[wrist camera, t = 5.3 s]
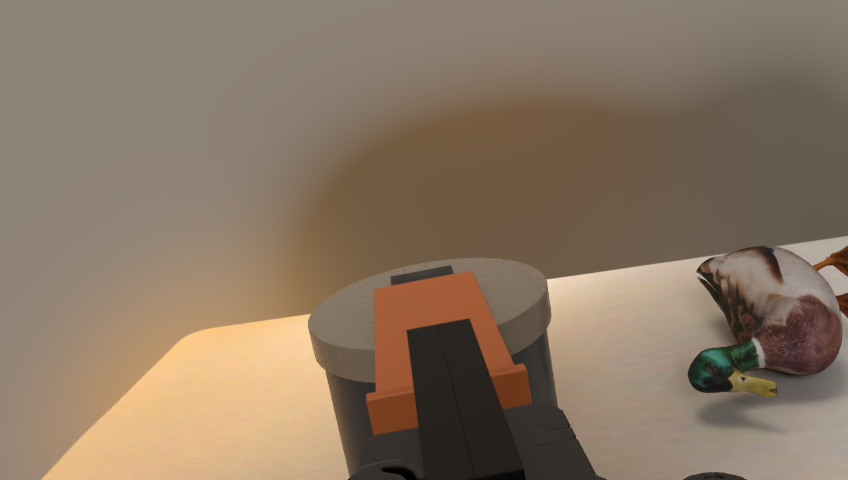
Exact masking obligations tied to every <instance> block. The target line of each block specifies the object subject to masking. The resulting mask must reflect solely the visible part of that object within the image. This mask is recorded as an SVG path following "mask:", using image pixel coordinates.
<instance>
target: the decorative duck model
mask: <svg viewBox="0 0 848 480" xmlns="http://www.w3.org/2000/svg"><path fill="white" fill-rule="evenodd" d="M826 258H827V257H826ZM827 265H834V266H835V267H836V268H837V269H839V270H840V271H841V272H842V273H844V274H845V275H846V276H848V246H846V247H845V248H844V249H842V250H841V251H839V252H836V253H833V254H831V255H830V257H829V258H827V259H826V260H824V261H823V262H820V263H818V264H816V265H814V266H812V265H811V264H809V263H808V262H807V261H805V260H804V259H802V258H801V257H799V256H798V255H796V254H794V253H793V252H791V251H788V250H785V249H783V248H779V247H774V246H757V247H750V248H745V249H741V250H738V251H735V252H732V253H729V254H726V255H723V256H719V257H713V258H710V259H708V260H706V261H705V262H703V263H702V264H701V265H700V267H699V268H698V269H697V273H699V274H701V275H702V276H703V277H704V278H705V279H706V280H707V281H708V282H709V283H710V284H711V285H710V284H709V283H708V282H706V281H705V280H703V279H701V278H699V277H698V279H699V280H700V282H701V283H702V284H703V285H704V286H705V288H706V289H707V290H708V291H709V293H710V294H711V296H712V297H713V299H714V300H715V302H716V303H717V304H718V306H719V307H720V309H721V310H722V311H723V313H724V314H725V316H726V319H727V321H728V324H729V326H730V328H731V331H732V333H733V335H734V336H735V338H736V340H737V342H738V343H739V344H738V345H733V346H728V347H719V348H710V349H706V350H704V351H702V352H701V353H699V354H698V355H697V357H696V358H695V359H694V361H693V362H692V364H691V365H690V368H689V371H688V378H689V381H690V383H691V385H692V386H693V387H694V388H695V389H696V390H698V391H700V392H704V393H714V392H741V391H745V392H749V393H753V394H758V395H762V396H766V397H771V398H773V397H775V396H776V395H777V388H776V384H775V383H774V382H772V381H769V380H766V379H762V378H757V377H752V376H748V375H745V374H743V373H742V372H745V371H749V370H753V369H759V368H766V367H767V368H770V369H773V370H777V371H782V372H786V373H791V374H798V375H809V374H815V373H819V372H821V371H823V370H824V369H826V368H827V367H828V366H829V365H830V364H831V363H832V362H833V361H834V360H835V358H836V356H837V354H838V352H839V349H840V346H841V342H842V333H843V331H842V318H841V313H840V311H841V312H842V313H843V314H844V315H845V316H846V317H847V318H848V293H845V294H843V295H839V296H835V294H834V292H833V290H832V288H831V287H830V285H829V283H828V282H827V281H826V280H825V279H824V278H823V276H822V275H821V274H820V273H819V272H818V270H820V269H821V268H823V267H825V266H827ZM711 286H712V287H713V288H714V289H715V290H716V291H717V292H716V291H715V290H714V289H713V288H712V287H711Z"/></svg>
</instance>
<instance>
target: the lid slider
mask: <svg viewBox="0 0 848 480" xmlns="http://www.w3.org/2000/svg"><path fill="white" fill-rule="evenodd" d="M374 316H375V378H376V392H373V393H368V394H367V395H366V402H367V407H368V412H369V416H370V421H371V426H372V430H373V435H378V434H383V433H389V432H394V431H399V430H404V429H410V428H415V427H419V426H418V418H417V410H416V403H415V395H414V387H413V379H412V371H411V363H410V355H409V347H408V339H407V331H406V330H409V329H414V328H419V327H425V326H430V325H435V324H441V323H446V322H451V321H457V320H462V319H467V318H470V321H471V324H472V326H473V329H474V332H475V335H476V338H477V340H478V343H479V346H480V349H481V351H482V354H483V357H484V360H485V362H486V365H487V368H488V371H489V373H490V376H491V379H492V382H493V385H494V387H495V390H496V393H497V396H498V398H499V401H500V404H501V407H502V409H505V408H510V407H515V406H520V405H526V404H531V403H532V400H531V393H530V387H529V380H528V374H527V369H526V367H525V365H524V364H518V365H514V363H513V361H512V359H511V356H510V354H509V352H508V350H507V347H506V345H505V343H504V341H503V339H502V336H501V334H500V332H499V330H498V327H497V325H496V323H495V321H494V318H493V316H492V314H491V312H490V309H489V307H488V305H487V303H486V300H485V298H484V296H483V294H482V292H481V289H480V287H479V285H478V283H477V280H476V278H475V276H474V274H473V271H466V272H461V273H456V274H451V275H445V276H440V277H435V278H430V279H424V280H419V281H414V282H409V283H403V284H398V285H393V286H388V287H382V288H377V289H374Z"/></svg>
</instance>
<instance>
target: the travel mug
mask: <svg viewBox="0 0 848 480" xmlns="http://www.w3.org/2000/svg"><path fill="white" fill-rule="evenodd" d="M466 271H473V274H474V276H475V278H476V280H477V283H478V285H479V287H480V289H481V292H482V294H483V296H484V298H485V300H486V303H487V305H488V307H489V309H490V312H491V314H492V316H493V318H494V321H495V323H496V325H497V327H498V330H499V332H500V334H501V336H502V339H503V341H504V343H505V345H506V347H507V350H508V352H509V354H510V356H511V359H512V361H513V363H514V365H518V364H524V365H525V367H526V369H527V374H528V380H529V387H530V393H531V400H532V403H536V402H541V401H547V402H549V403H551V404H552V405H554V406H556V407H557V408H558V404H557V397H556V390H555V384H554V377H553V370H552V363H551V356H550V349H549V342H548V335H547V327H548V325H549V323H550V320H551V307H550V300H549V293H548V286H547V281H546V279H545V277H544V275H543V274H542V273H541V272H540V271H539V270H537V269H535V268H534V267H531V266H529V265H527V264H523V263H520V262H516V261H511V260H503V259H494V258H493V259H492V258H462V259H450V260H441V261H433V262H427V263H421V264H416V265H411V266H407V267H403V268H398V269H395V270H391V271H387V272H384V273H381V274H378V275H375V276H372V277H369V278H366V279H364V280H361V281H359V282H356V283H354V284H352V285H349V286H347V287H345V288H343V289H341V290H340V291H338V292H336V293H334V294H333V295H331V296H329V297H328V298H326V299H325V300H324V301H323V302H321V303H320V304H319V305H318V306H317V307H316V308H315V309H314V311H313V312H312V313H311V315H310V318H309V320H308V328H309V333H310V337H311V341H312V346H313V350H314V354H315V357H316V360H317V362H318V363H319V364H320V366H321V367H322V368H323V369H325V371H326V375H327V380H328V384H329V389H330V393H331V397H332V402H333V406H334V410H335V415H336V419H337V424H338V428H339V432H340V437H341V441H342V445H343V450H344V454H345V459H346V463H347V467H348V472H349V476H350V477H351V476H352V475H353V474H355V473H357V472H358V471H360V451H361V450H362V448H363V447H364V445H365V444H366V442H367V441H368V440H369V438H370V437H371V436H373V430H372V426H371V421H370V416H369V412H368V407H367V402H366V395H367V394H368V393H373V392H376V378H375V316H374V289H377V288H382V287H388V286H393V285H398V284H403V283H409V282H414V281H419V280H424V279H430V278H435V277H440V276H445V275H451V274H456V273H461V272H466Z"/></svg>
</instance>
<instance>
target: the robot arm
mask: <svg viewBox="0 0 848 480" xmlns="http://www.w3.org/2000/svg"><path fill="white" fill-rule="evenodd" d="M406 331H407V339H408V347H409V355H410V363H411V371H412V379H413V387H414V395H415V403H416V410H417V418H418V426H419V427H415V428H410V429H404V430H399V431H394V432H389V433H383V434H378V435H373V436H371V437H370V438H369V440H368V441H367V442H366V444H365V445H364V447H363V448H362V450H361V451H360V471H358V472H357V473H355V474H353V475H352V476H351V477H350V478H349V479H348V480H606V479H604V478H601V477H599V476H597V475H596V474H595V472H594V470H593V468H592V466H591V464H590V462H589V460H588V458H587V456H586V455H585V453H584V451H583V449H582V447H581V445H580V443H579V441H578V439H576V435H575V434H574V432H573V430H572V428H570V424H569V422H568V420H567V418H566V416H565V414H564V413H563V411H562V410H560V409H559V408H557V407H556V406H554V405H552V404H551V403H549V402H547V401H541V402H536V403H531V404H526V405H520V406H515V407H510V408H505V409H502V407H501V404H500V401H499V398H498V396H497V393H496V390H495V387H494V385H493V382H492V379H491V376H490V373H489V371H488V368H487V365H486V362H485V360H484V357H483V354H482V351H481V349H480V346H479V343H478V340H477V338H476V335H475V332H474V329H473V326H472V324H471V321H470V318H467V319H462V320H457V321H451V322H446V323H441V324H435V325H430V326H425V327H419V328H414V329H409V330H406ZM683 480H746V479H744V478H742V477H740V476H736V475H731V474H727V473H718V472H714V473H712V472H709V473H701V474H696V475H692V476H689V477H687V478H685V479H683Z"/></svg>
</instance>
